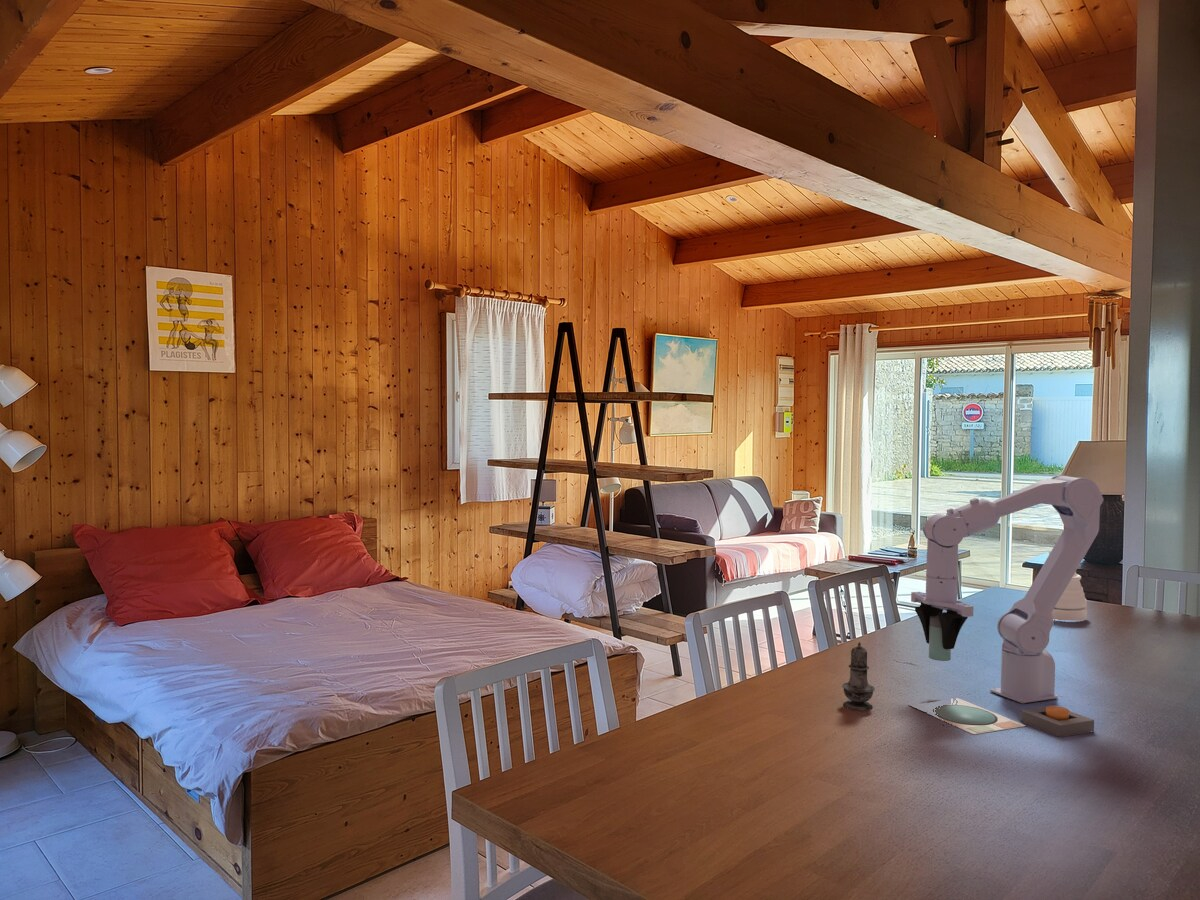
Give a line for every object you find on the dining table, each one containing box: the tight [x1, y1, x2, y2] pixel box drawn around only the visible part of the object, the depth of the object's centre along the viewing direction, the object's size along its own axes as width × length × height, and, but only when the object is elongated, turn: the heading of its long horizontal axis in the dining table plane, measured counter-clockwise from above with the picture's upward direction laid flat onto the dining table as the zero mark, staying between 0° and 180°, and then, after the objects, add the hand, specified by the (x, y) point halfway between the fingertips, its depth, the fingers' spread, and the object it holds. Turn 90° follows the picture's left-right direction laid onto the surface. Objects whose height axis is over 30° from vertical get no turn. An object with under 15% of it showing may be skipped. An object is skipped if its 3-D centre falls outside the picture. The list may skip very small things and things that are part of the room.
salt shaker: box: [841, 641, 876, 712], centre depth 162 cm, size 6×6×12 cm
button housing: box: [1020, 706, 1095, 738], centre depth 153 cm, size 8×8×2 cm
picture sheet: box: [933, 697, 1027, 735], centre depth 158 cm, size 12×16×1 cm
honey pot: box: [1048, 550, 1088, 620], centre depth 239 cm, size 13×13×18 cm
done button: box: [1045, 705, 1070, 721], centre depth 153 cm, size 4×4×2 cm
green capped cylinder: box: [928, 615, 952, 662], centre depth 170 cm, size 4×4×8 cm
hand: (940, 645), depth 170 cm, fingers closed on green capped cylinder, 4 cm apart
